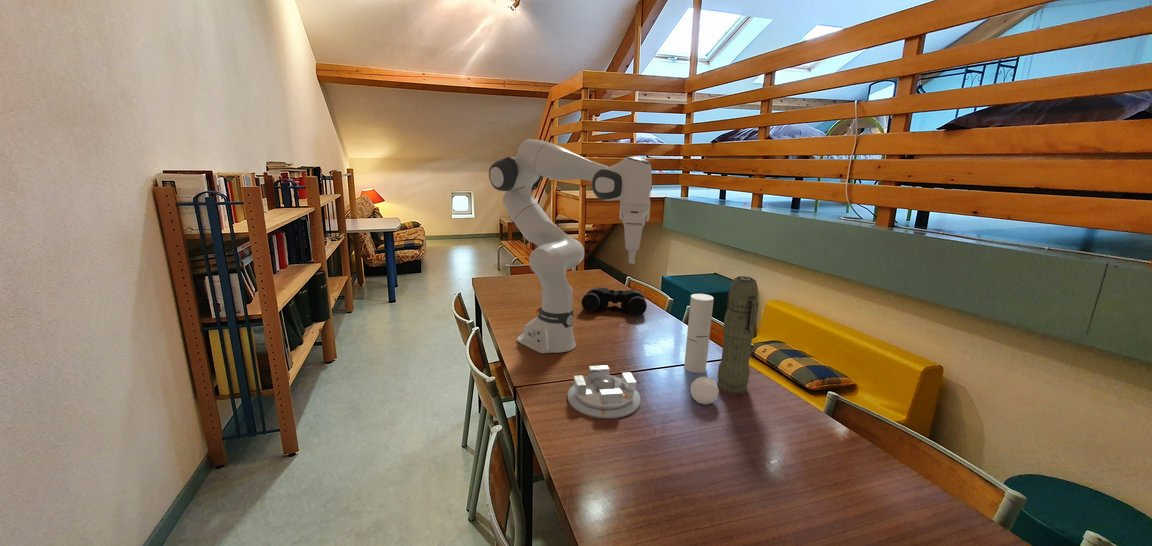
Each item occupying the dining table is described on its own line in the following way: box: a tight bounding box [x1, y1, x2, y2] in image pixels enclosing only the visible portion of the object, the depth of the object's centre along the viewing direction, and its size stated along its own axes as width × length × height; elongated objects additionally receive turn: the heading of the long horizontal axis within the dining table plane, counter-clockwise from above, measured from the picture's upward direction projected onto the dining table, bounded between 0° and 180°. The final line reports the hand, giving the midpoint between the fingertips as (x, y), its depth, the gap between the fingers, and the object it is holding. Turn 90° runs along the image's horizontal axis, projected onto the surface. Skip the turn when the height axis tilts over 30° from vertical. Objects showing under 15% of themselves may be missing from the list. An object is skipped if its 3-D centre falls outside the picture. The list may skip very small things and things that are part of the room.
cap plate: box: [567, 384, 641, 420], centre depth 133 cm, size 21×21×1 cm
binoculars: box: [581, 286, 648, 316], centre depth 210 cm, size 29×20×10 cm
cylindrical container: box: [683, 293, 714, 374], centre depth 151 cm, size 7×7×25 cm
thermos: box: [716, 275, 759, 395], centre depth 137 cm, size 9×12×35 cm
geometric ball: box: [690, 375, 720, 405], centre depth 131 cm, size 8×8×8 cm
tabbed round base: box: [573, 364, 637, 410], centre depth 132 cm, size 17×17×5 cm
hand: (632, 259), depth 138 cm, fingers open, 8 cm apart
